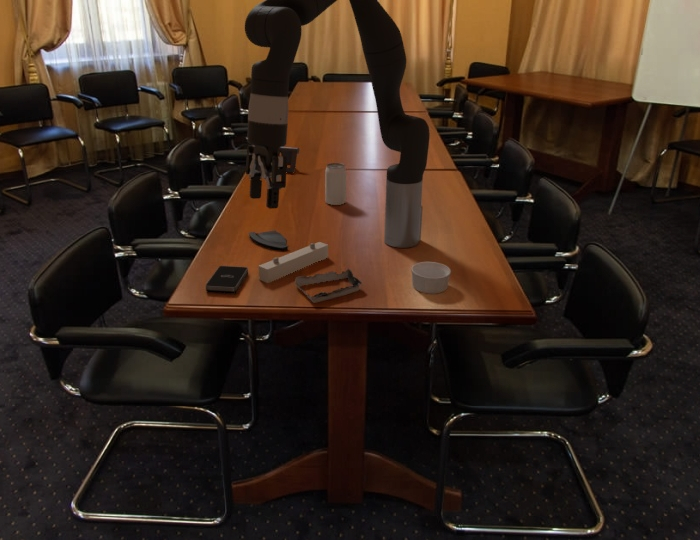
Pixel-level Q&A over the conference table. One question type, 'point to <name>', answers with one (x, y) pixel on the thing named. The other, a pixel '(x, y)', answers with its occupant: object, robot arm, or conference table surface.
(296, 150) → the portable electronic device stand
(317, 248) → the grey toothed bar
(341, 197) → the can
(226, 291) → the external hard drive
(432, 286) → the ramekin
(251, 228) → the conference table surface
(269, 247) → the fan shaped piece
